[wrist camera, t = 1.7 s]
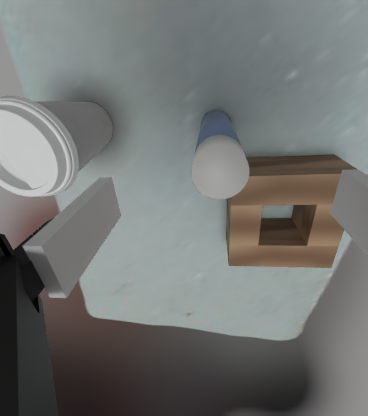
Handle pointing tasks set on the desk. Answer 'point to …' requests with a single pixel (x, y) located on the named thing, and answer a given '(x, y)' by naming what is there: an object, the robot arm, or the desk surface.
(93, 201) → the robot arm
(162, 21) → the desk surface
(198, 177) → the marker
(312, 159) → the socket block
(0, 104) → the coffee cup
